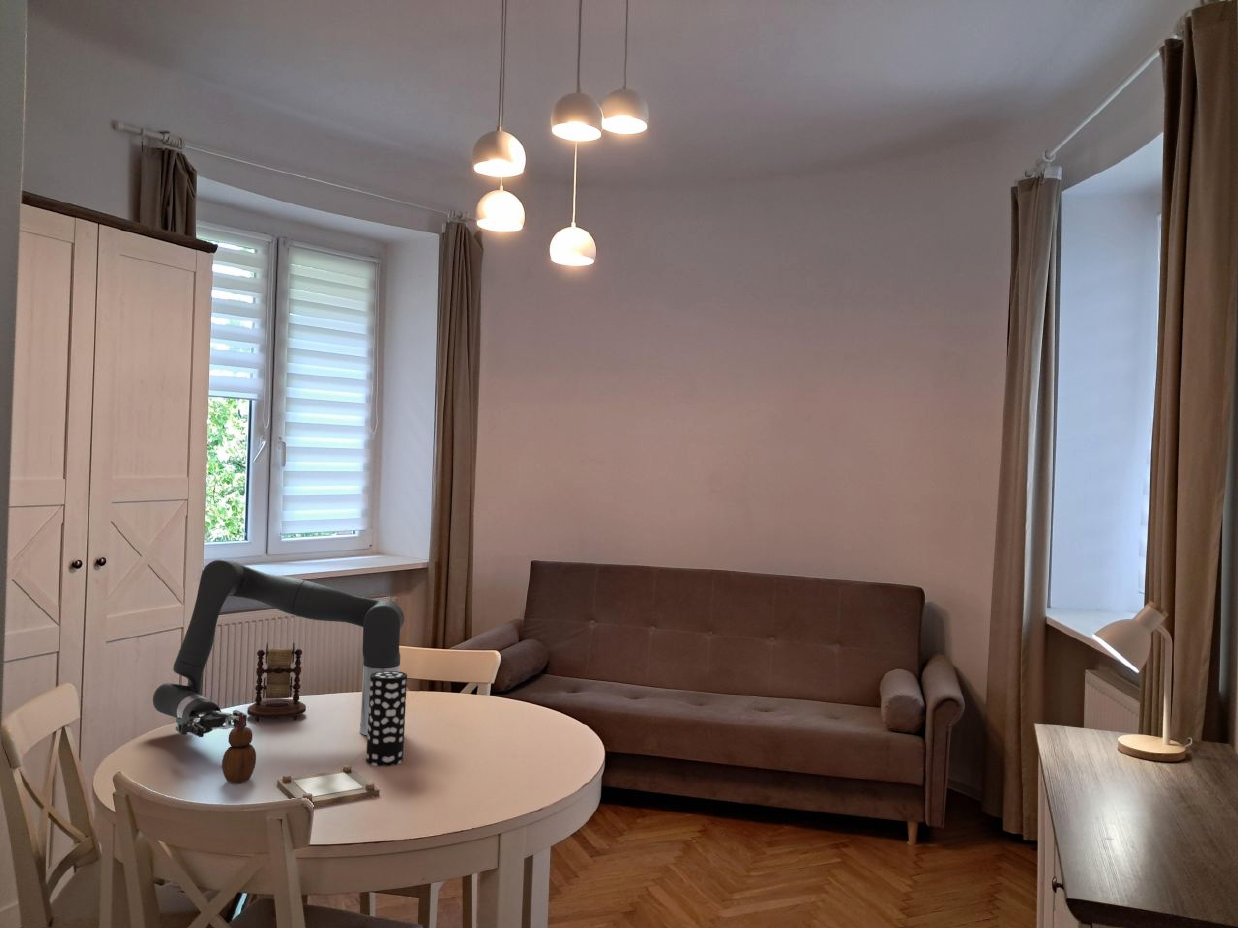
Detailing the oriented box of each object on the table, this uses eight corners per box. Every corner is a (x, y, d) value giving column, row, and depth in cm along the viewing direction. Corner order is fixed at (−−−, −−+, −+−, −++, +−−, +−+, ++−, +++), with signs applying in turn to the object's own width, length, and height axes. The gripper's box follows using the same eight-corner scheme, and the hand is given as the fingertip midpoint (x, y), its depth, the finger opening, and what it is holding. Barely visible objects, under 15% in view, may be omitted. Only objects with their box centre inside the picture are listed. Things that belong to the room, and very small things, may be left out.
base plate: (350, 773, 201) (351, 763, 201) (379, 795, 188) (379, 784, 188) (277, 785, 191) (277, 775, 191) (301, 809, 178) (302, 798, 178)
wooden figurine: (240, 787, 189) (244, 715, 189) (216, 784, 190) (220, 712, 190) (259, 777, 196) (263, 707, 196) (235, 774, 197) (239, 705, 197)
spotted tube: (409, 758, 213) (414, 673, 214) (389, 768, 205) (394, 680, 206) (379, 753, 216) (383, 669, 216) (358, 762, 208) (363, 675, 208)
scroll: (304, 708, 253) (308, 637, 253) (306, 722, 239) (309, 646, 240) (248, 710, 248) (251, 637, 248) (245, 725, 234) (250, 648, 234)
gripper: (166, 701, 208) (189, 717, 196) (230, 693, 218) (255, 708, 206) (165, 734, 208) (187, 751, 196) (228, 725, 218) (253, 741, 206)
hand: (222, 729), depth 201 cm, fingers open, 8 cm apart
